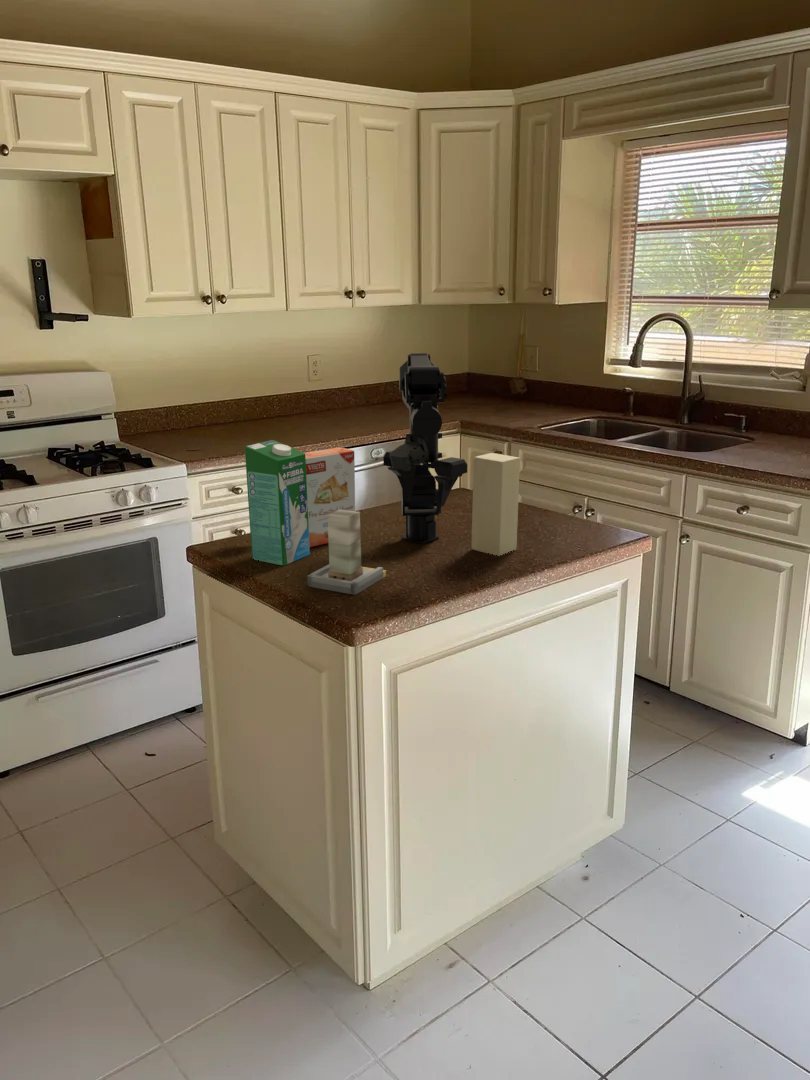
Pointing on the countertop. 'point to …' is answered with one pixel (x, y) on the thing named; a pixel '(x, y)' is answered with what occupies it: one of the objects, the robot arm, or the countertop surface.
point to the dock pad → (350, 587)
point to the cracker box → (328, 488)
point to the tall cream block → (495, 503)
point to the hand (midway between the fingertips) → (424, 502)
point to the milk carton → (277, 502)
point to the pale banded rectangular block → (344, 545)
